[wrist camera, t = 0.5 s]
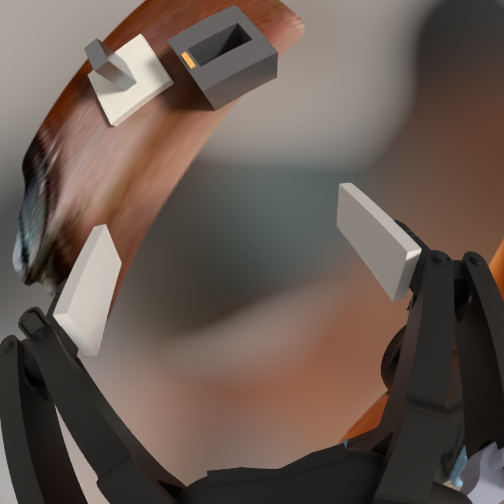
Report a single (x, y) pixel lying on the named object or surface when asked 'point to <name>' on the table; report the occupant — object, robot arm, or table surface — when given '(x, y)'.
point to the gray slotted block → (226, 56)
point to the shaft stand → (125, 77)
